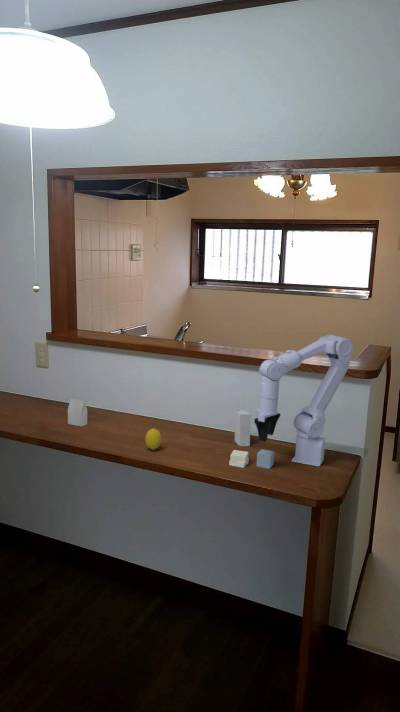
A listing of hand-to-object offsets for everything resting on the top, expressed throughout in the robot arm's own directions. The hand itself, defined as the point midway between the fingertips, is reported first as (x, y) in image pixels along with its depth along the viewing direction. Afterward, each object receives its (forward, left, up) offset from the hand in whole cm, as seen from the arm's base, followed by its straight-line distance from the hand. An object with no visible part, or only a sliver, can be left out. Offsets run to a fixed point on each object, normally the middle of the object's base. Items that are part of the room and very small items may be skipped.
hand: (266, 437), depth 168 cm
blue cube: (0, 0, -10) cm, 10 cm away
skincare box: (+14, -16, -10) cm, 23 cm away
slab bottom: (+8, +3, -10) cm, 13 cm away
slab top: (+8, +3, -8) cm, 12 cm away
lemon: (+39, +6, -10) cm, 40 cm away
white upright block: (+80, -5, -10) cm, 81 cm away
